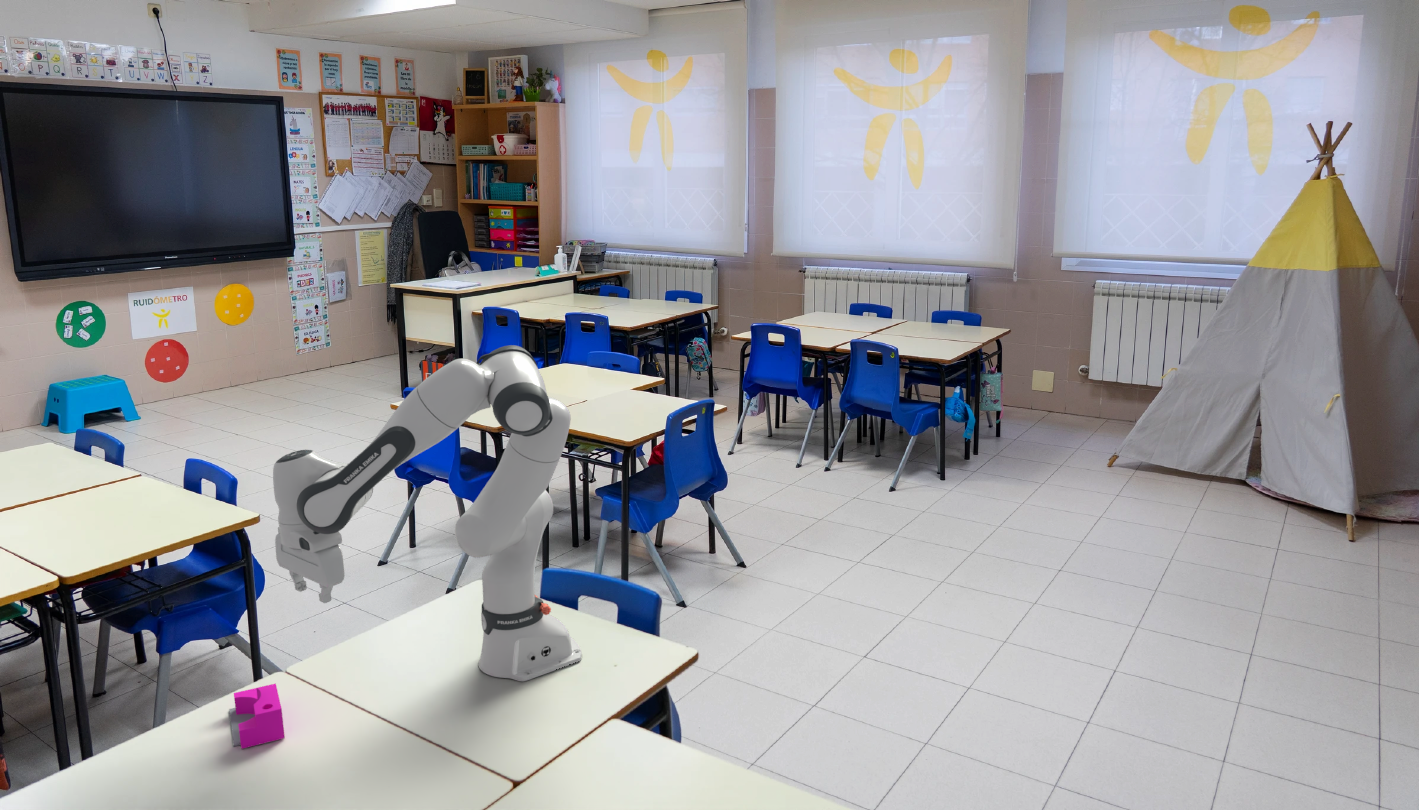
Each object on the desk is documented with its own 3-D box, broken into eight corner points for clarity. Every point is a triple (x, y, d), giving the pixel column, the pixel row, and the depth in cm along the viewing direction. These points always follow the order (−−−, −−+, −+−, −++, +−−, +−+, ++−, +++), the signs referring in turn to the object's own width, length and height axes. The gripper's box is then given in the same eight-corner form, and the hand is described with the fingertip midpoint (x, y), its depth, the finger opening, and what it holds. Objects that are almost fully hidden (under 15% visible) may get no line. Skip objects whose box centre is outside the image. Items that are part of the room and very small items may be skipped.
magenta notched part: (281, 708, 184) (237, 719, 181) (284, 737, 186) (241, 748, 182) (273, 672, 197) (232, 681, 193) (276, 700, 198) (235, 709, 195)
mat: (272, 700, 199) (272, 699, 199) (279, 735, 187) (279, 734, 187) (229, 710, 195) (229, 709, 195) (233, 746, 183) (233, 745, 183)
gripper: (263, 525, 197) (272, 588, 200) (316, 546, 184) (325, 614, 187) (292, 516, 201) (301, 578, 205) (346, 536, 189) (354, 602, 192)
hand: (313, 595), depth 196 cm, fingers open, 8 cm apart
